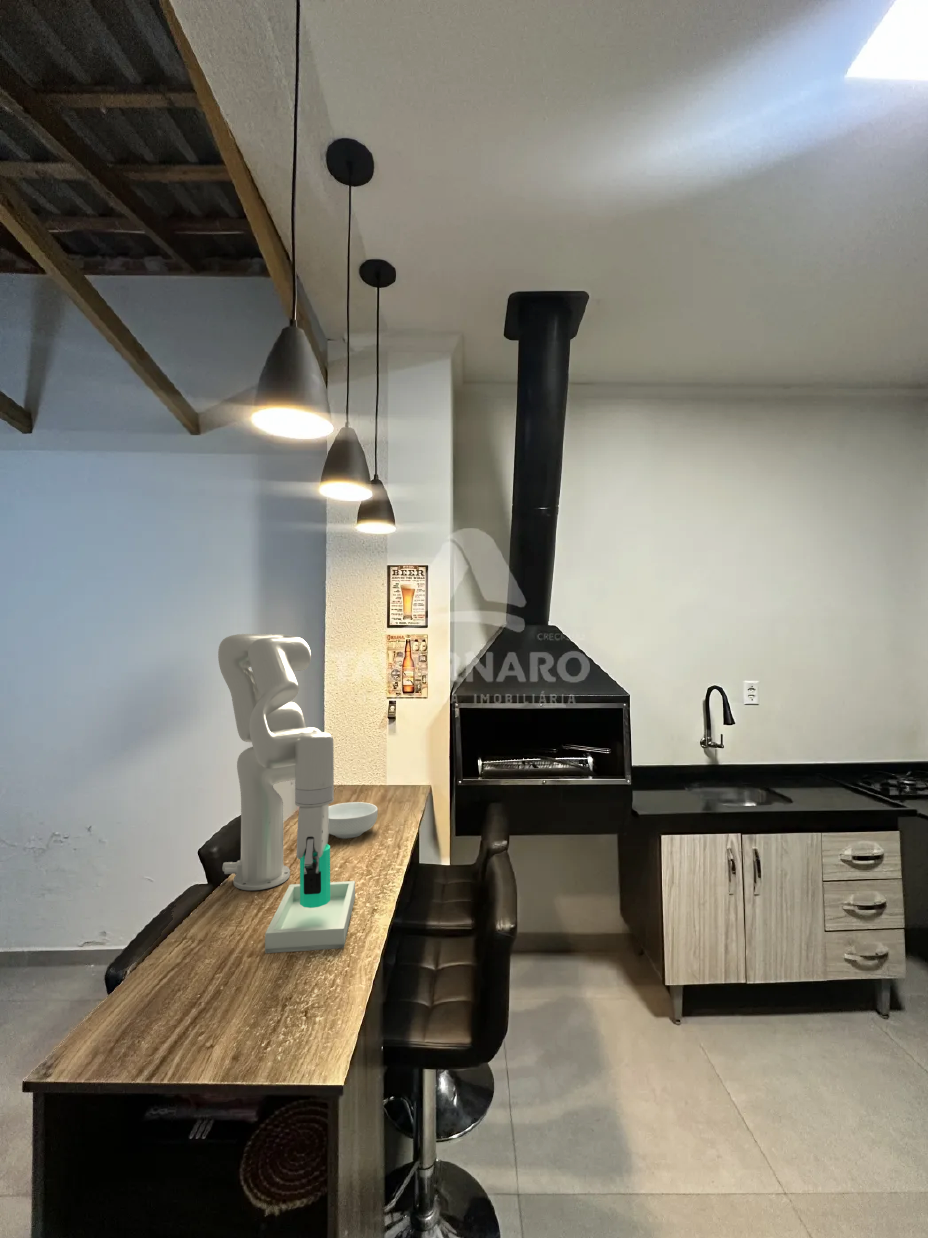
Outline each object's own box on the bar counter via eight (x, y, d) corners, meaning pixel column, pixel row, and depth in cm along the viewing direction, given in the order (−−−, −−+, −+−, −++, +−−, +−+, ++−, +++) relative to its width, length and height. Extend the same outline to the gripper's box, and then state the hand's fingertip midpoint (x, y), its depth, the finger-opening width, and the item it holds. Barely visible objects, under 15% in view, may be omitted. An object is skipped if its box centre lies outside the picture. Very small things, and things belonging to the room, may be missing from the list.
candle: (305, 894, 111) (305, 834, 111) (334, 893, 111) (334, 834, 111) (295, 908, 105) (295, 845, 105) (325, 908, 105) (325, 845, 105)
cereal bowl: (373, 821, 169) (372, 799, 169) (382, 839, 153) (382, 814, 153) (317, 828, 164) (317, 804, 164) (320, 847, 148) (320, 821, 148)
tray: (265, 953, 97) (265, 933, 97) (289, 901, 117) (289, 884, 117) (343, 948, 98) (343, 928, 98) (355, 897, 118) (355, 881, 118)
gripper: (303, 785, 117) (304, 871, 116) (286, 808, 100) (286, 908, 99) (339, 783, 118) (339, 868, 117) (327, 806, 101) (327, 906, 100)
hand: (315, 886), depth 108 cm, fingers closed on candle, 4 cm apart
